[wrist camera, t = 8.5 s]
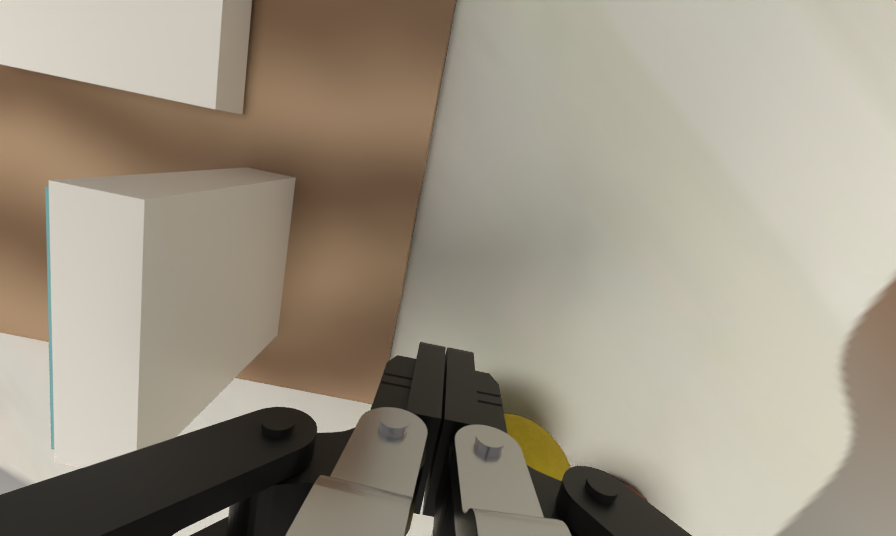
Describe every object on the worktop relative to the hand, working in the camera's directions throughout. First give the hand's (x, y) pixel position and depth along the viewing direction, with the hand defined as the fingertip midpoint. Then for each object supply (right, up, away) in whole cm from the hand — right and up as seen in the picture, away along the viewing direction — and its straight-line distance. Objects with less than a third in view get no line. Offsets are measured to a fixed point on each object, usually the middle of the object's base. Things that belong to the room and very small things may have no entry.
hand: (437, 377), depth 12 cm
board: (-10, +8, +7) cm, 14 cm away
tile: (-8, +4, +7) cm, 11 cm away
